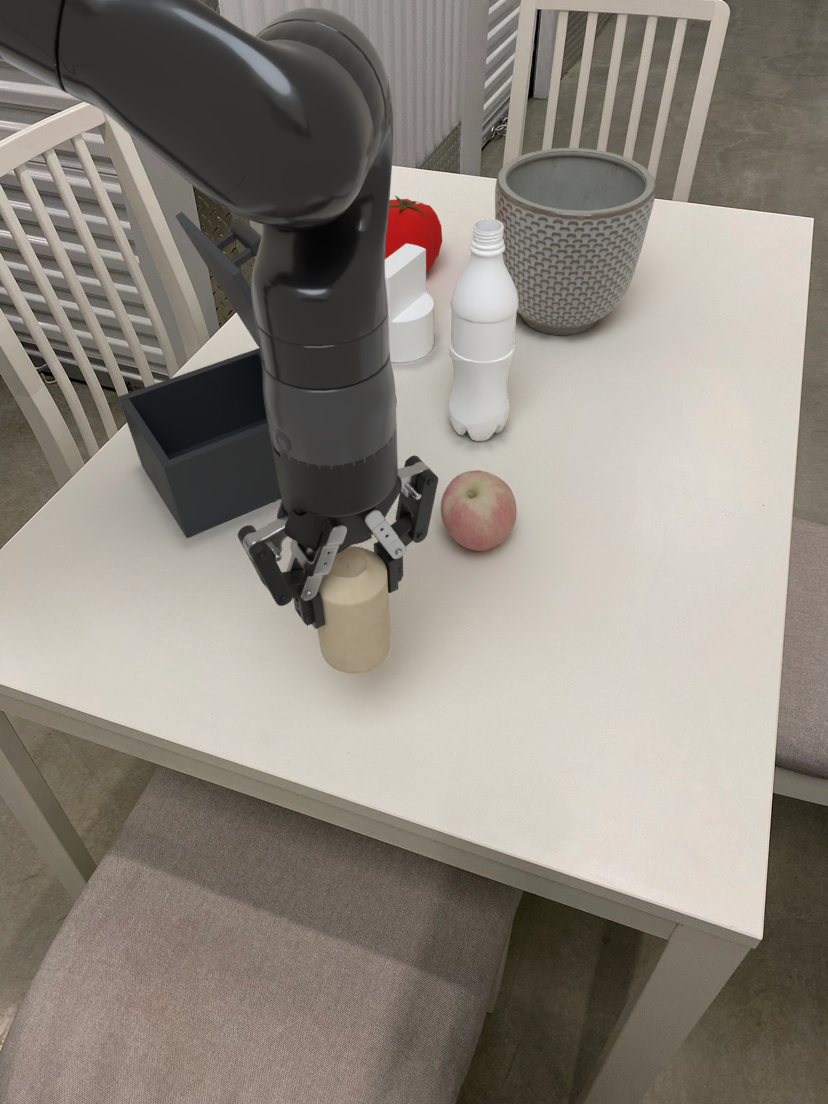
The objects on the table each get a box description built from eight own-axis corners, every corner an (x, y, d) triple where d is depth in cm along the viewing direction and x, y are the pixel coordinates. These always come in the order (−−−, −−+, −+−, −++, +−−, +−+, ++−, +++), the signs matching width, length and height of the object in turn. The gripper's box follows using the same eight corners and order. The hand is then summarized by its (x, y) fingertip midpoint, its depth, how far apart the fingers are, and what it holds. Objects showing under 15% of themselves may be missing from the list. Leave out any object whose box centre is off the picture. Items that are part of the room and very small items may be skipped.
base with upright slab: (410, 370, 107) (408, 285, 98) (354, 350, 110) (347, 266, 101) (446, 337, 112) (447, 254, 103) (391, 319, 115) (387, 237, 106)
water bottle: (476, 454, 95) (486, 250, 77) (436, 425, 99) (436, 223, 80) (520, 429, 98) (540, 226, 80) (479, 401, 102) (490, 202, 83)
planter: (459, 312, 116) (462, 176, 102) (555, 266, 124) (571, 134, 110) (561, 373, 105) (580, 231, 91) (659, 319, 114) (690, 180, 100)
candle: (357, 607, 67) (349, 520, 60) (404, 644, 64) (402, 559, 57) (306, 646, 64) (291, 561, 57) (354, 687, 62) (344, 603, 54)
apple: (436, 515, 88) (436, 459, 82) (506, 509, 89) (511, 453, 83) (445, 570, 83) (446, 514, 77) (519, 564, 83) (526, 507, 77)
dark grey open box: (186, 538, 87) (163, 467, 79) (142, 466, 95) (117, 396, 87) (326, 479, 92) (317, 409, 85) (273, 416, 100) (261, 347, 93)
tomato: (382, 299, 119) (378, 224, 111) (354, 264, 126) (348, 191, 118) (456, 281, 122) (457, 207, 114) (424, 248, 129) (424, 176, 121)
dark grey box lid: (232, 275, 71) (279, 242, 71) (174, 215, 79) (216, 186, 79) (313, 407, 85) (352, 379, 85) (257, 345, 93) (292, 320, 93)
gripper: (402, 351, 53) (406, 533, 65) (193, 427, 48) (240, 609, 60) (469, 411, 48) (459, 594, 61) (246, 502, 43) (285, 682, 56)
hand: (350, 601), depth 60 cm, fingers closed on candle, 5 cm apart
